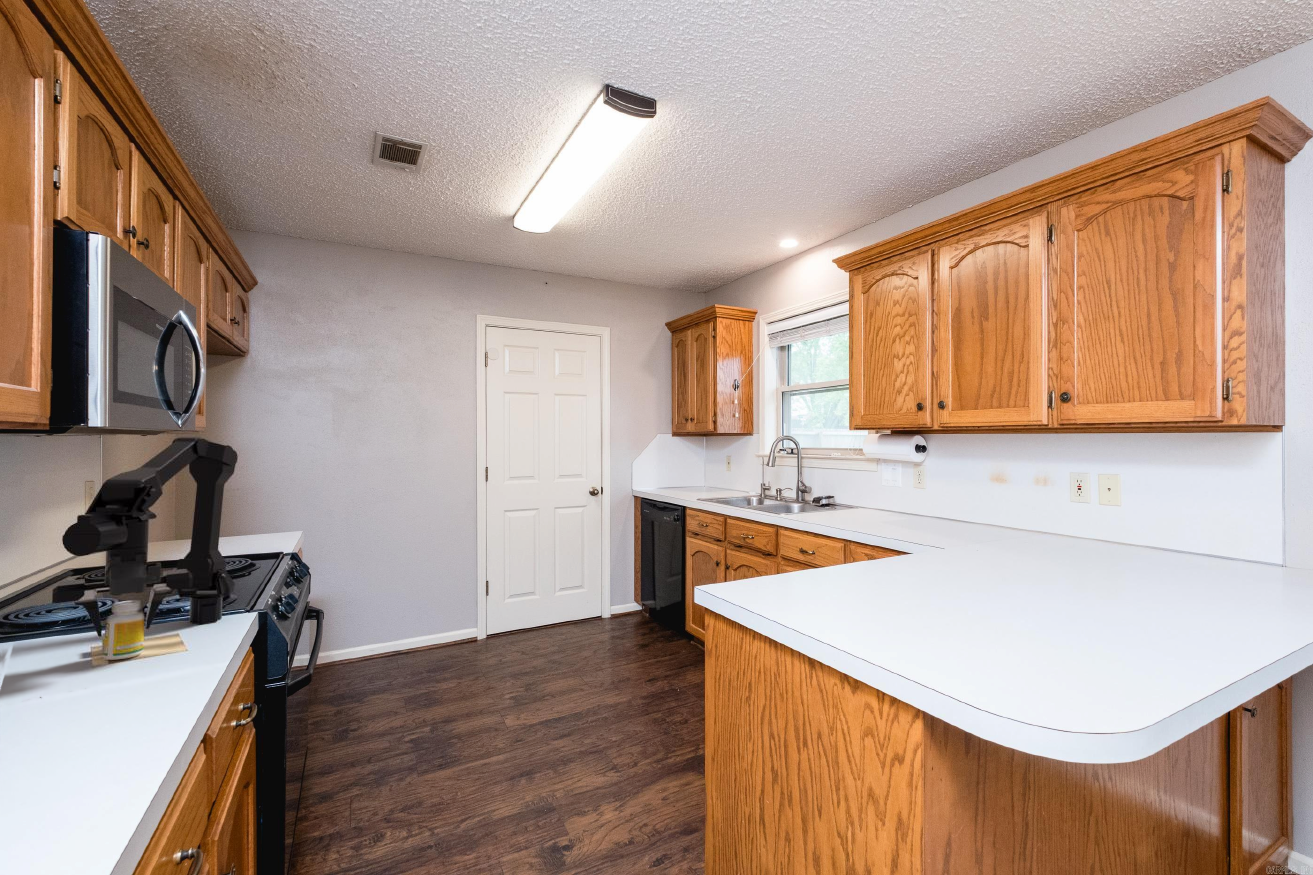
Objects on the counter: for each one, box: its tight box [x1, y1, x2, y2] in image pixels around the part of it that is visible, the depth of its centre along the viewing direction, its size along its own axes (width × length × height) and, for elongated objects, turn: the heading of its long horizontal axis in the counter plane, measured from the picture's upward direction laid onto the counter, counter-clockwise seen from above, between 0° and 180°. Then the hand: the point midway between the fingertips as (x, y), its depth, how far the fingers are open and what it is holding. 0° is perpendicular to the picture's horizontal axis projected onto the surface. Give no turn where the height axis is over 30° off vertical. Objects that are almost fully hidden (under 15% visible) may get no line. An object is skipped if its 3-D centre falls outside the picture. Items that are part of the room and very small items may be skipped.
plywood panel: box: [90, 633, 188, 668], centre depth 112 cm, size 14×13×1 cm
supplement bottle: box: [103, 599, 146, 660], centre depth 108 cm, size 5×5×10 cm
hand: (124, 632), depth 107 cm, fingers open, 6 cm apart
